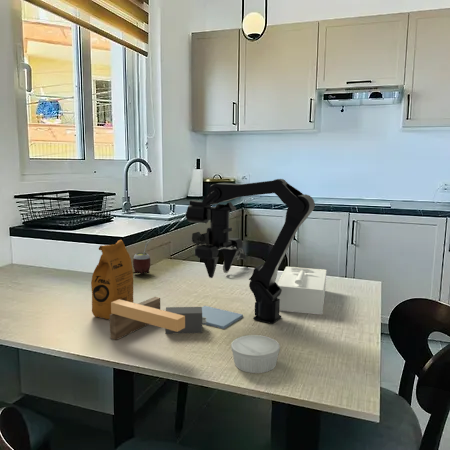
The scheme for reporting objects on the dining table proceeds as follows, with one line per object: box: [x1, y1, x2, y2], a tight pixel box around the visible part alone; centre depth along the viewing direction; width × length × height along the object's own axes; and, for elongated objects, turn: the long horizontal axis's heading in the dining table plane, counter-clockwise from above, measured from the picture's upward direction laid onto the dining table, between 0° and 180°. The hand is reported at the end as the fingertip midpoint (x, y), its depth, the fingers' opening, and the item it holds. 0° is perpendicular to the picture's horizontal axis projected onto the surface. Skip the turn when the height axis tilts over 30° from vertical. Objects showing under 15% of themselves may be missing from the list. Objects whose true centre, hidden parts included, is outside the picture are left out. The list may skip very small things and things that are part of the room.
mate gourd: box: [132, 238, 152, 276], centre depth 176 cm, size 8×8×15 cm
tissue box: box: [276, 266, 327, 315], centre depth 145 cm, size 14×25×11 cm, turn 165°
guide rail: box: [109, 296, 161, 341], centre depth 120 cm, size 2×18×6 cm, turn 148°
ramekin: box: [230, 334, 281, 374], centre depth 100 cm, size 11×11×5 cm
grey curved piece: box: [222, 248, 247, 274], centre depth 186 cm, size 28×2×10 cm, turn 159°
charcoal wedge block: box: [164, 306, 206, 335], centre depth 119 cm, size 11×5×6 cm, turn 95°
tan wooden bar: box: [111, 299, 185, 332], centre depth 108 cm, size 22×3×3 cm, turn 58°
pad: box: [201, 305, 244, 330], centre depth 128 cm, size 14×11×1 cm
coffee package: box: [90, 239, 134, 321], centre depth 130 cm, size 10×12×22 cm
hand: (219, 274), depth 133 cm, fingers open, 9 cm apart
